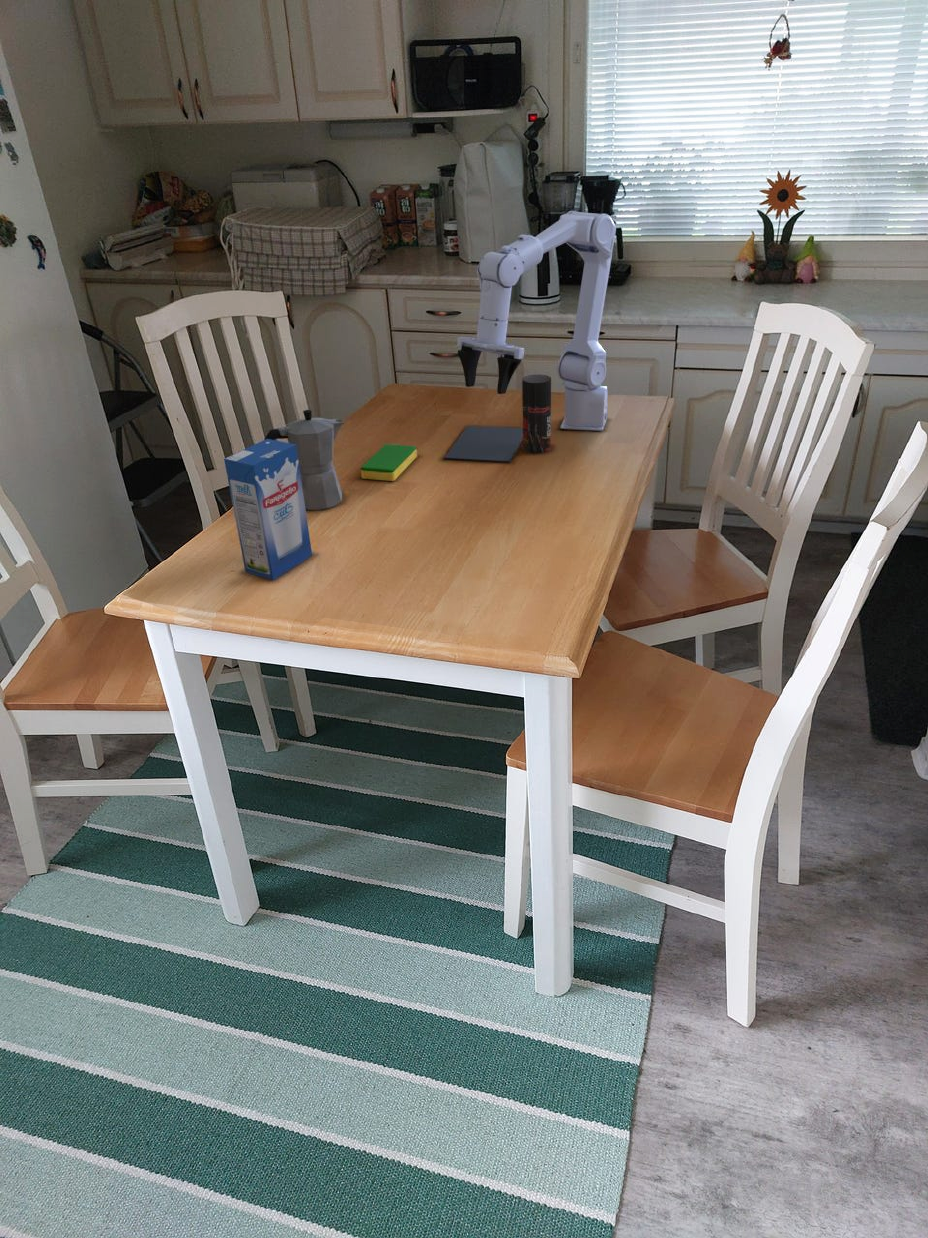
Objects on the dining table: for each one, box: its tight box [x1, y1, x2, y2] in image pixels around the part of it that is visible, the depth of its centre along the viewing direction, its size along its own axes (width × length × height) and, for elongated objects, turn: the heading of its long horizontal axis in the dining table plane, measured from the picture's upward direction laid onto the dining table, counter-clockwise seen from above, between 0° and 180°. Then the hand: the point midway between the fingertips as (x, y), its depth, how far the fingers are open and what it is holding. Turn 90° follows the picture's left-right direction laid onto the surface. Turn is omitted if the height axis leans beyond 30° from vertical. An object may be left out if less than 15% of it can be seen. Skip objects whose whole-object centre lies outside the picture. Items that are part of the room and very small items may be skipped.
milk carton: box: [223, 438, 313, 581], centre depth 150 cm, size 10×6×20 cm, turn 148°
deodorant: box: [521, 374, 552, 454], centre depth 192 cm, size 6×6×15 cm
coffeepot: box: [263, 409, 345, 511], centre depth 172 cm, size 15×9×18 cm, turn 116°
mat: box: [443, 424, 523, 464], centre depth 199 cm, size 14×20×1 cm
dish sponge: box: [360, 443, 418, 482], centre depth 189 cm, size 7×14×2 cm, turn 162°
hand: (485, 389), depth 183 cm, fingers open, 7 cm apart
